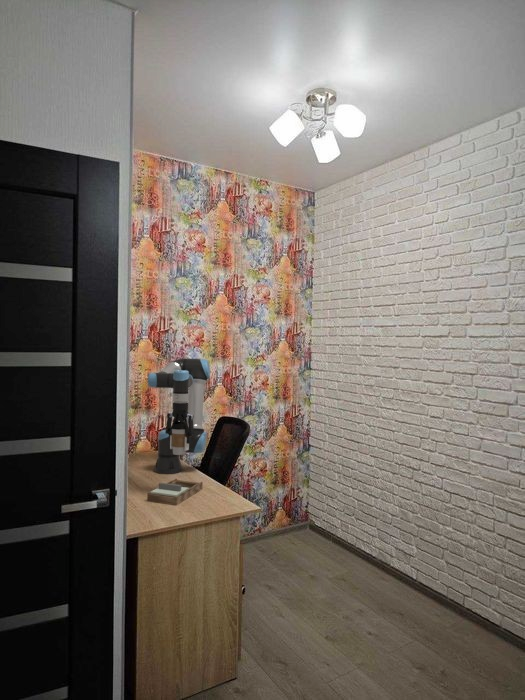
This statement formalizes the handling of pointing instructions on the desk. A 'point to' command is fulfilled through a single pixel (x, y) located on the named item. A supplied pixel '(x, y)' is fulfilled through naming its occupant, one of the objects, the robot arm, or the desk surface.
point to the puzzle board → (193, 489)
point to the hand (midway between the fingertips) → (179, 449)
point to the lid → (169, 489)
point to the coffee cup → (178, 438)
